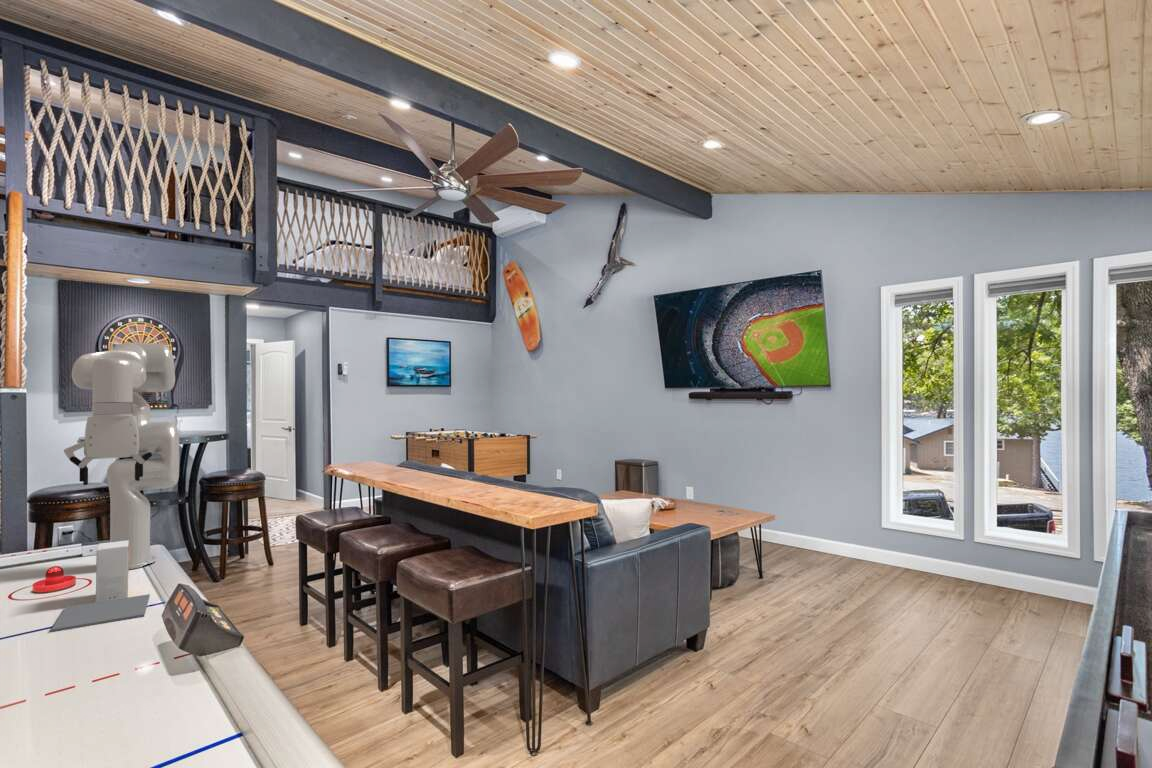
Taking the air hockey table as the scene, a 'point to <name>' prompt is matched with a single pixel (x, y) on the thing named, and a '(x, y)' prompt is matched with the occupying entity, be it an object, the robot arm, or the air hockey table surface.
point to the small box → (112, 570)
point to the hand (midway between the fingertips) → (111, 482)
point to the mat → (101, 612)
